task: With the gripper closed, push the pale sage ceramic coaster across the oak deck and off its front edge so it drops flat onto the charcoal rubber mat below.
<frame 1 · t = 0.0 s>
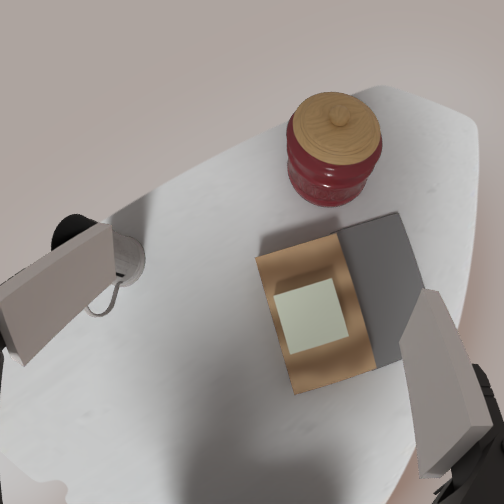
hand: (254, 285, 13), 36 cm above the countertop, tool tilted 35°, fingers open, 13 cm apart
coaster: (310, 316, 43), point 4 cm above the countertop, touching deck
canister: (326, 172, 51), on the countertop
mat: (387, 289, 46), on the countertop
glass holder: (125, 277, 52), on the countertop
deck: (314, 314, 47), on the countertop
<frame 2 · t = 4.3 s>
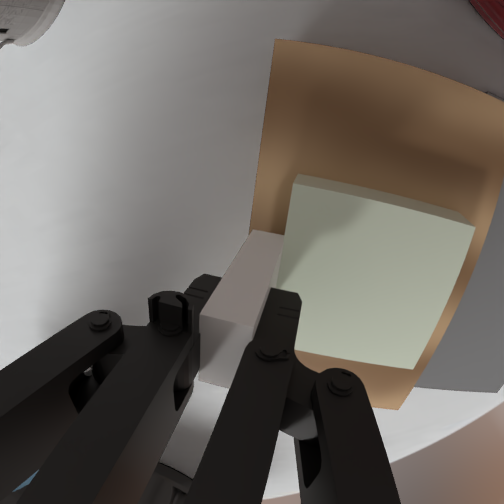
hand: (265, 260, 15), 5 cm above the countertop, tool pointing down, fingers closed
coaster: (363, 269, 15), point 4 cm above the countertop, touching gripper
glass holder: (31, 28, 17), on the countertop
deck: (359, 239, 19), on the countertop
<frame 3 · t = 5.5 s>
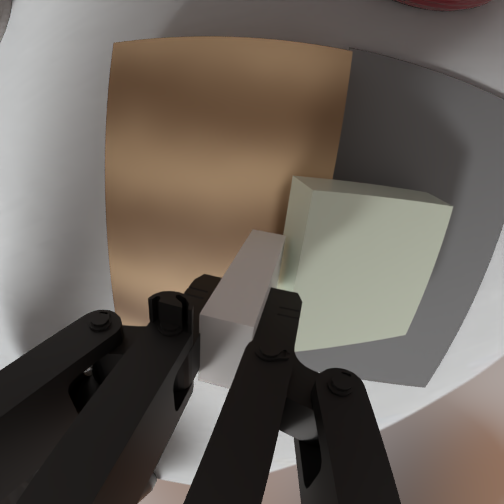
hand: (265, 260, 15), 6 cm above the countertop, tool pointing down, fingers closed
coaster: (351, 258, 16), point 3 cm above the countertop, tilted 26°, touching deck
mat: (409, 250, 18), on the countertop
deck: (222, 211, 20), on the countertop
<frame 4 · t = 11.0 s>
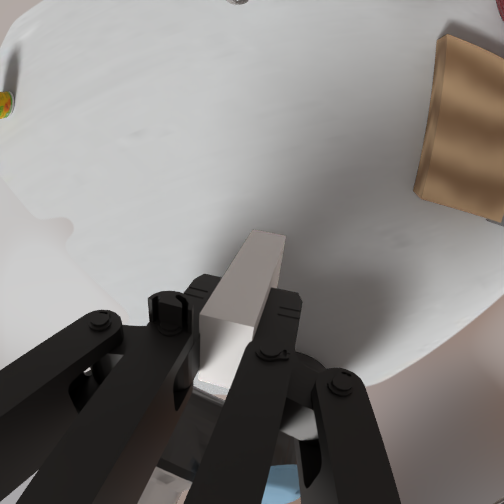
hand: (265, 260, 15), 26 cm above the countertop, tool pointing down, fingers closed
supplement bottle: (8, 104, 43), on the countertop
deck: (469, 128, 31), on the countertop
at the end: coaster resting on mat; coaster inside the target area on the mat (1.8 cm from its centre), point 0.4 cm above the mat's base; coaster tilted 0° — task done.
